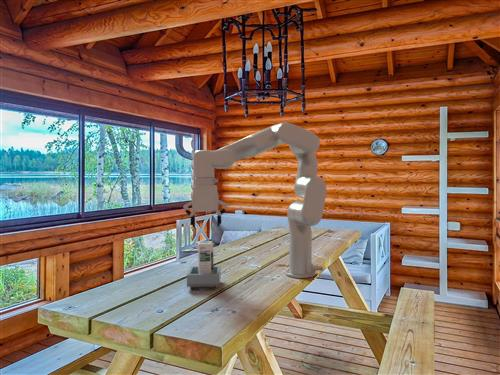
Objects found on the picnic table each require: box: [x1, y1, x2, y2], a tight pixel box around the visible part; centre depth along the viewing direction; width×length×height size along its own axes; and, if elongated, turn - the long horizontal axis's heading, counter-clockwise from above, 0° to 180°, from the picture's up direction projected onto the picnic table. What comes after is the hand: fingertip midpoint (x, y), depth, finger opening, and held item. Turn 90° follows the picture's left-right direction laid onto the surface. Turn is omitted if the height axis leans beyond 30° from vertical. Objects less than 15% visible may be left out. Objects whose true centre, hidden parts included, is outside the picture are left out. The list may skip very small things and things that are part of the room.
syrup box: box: [197, 240, 215, 274], centre depth 146 cm, size 6×6×14 cm
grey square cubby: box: [186, 265, 222, 291], centre depth 147 cm, size 12×12×6 cm
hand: (206, 226), depth 146 cm, fingers open, 9 cm apart
